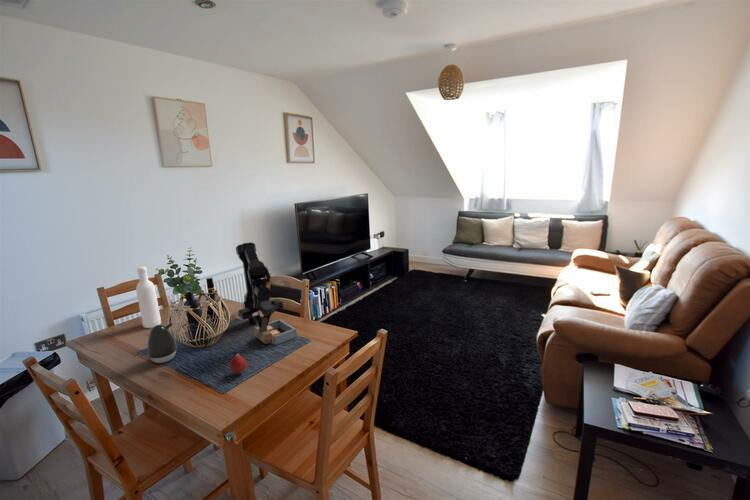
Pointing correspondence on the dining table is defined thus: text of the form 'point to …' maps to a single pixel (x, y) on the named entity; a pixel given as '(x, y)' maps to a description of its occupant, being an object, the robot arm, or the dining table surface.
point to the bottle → (147, 300)
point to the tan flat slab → (233, 316)
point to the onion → (238, 364)
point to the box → (285, 336)
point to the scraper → (263, 331)
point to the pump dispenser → (161, 344)
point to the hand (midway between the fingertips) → (263, 327)
